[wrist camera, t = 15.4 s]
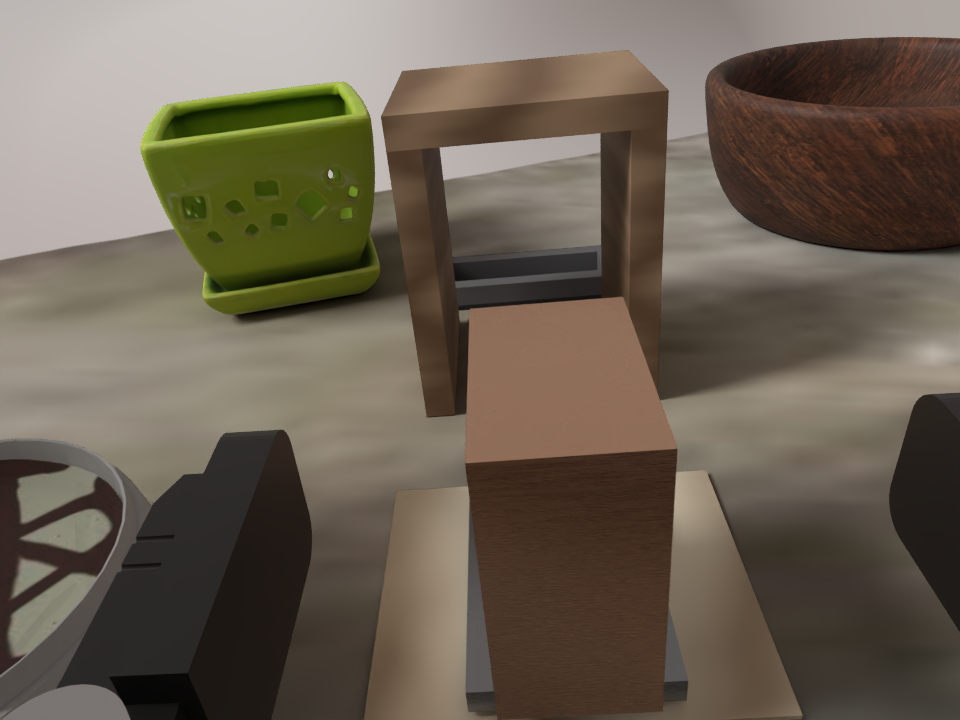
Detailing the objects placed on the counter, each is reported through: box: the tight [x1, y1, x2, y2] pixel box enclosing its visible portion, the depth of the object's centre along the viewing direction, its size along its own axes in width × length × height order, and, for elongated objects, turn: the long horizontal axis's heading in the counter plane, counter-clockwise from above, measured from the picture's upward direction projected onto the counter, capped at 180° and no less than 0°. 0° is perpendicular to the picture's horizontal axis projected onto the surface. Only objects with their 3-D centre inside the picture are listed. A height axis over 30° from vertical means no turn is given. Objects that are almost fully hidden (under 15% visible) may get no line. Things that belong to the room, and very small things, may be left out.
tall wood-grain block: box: [465, 297, 688, 720], centre depth 27 cm, size 7×15×11 cm, turn 0°
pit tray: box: [452, 245, 602, 310], centre depth 52 cm, size 12×5×2 cm, turn 90°
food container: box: [0, 439, 152, 720], centre depth 23 cm, size 12×6×10 cm, turn 52°
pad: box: [364, 470, 803, 720], centre depth 29 cm, size 14×12×1 cm
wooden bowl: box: [705, 37, 960, 250], centre depth 57 cm, size 25×25×10 cm
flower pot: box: [141, 82, 380, 315], centre depth 54 cm, size 14×14×13 cm
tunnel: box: [381, 50, 669, 417], centre depth 40 cm, size 12×10×16 cm
